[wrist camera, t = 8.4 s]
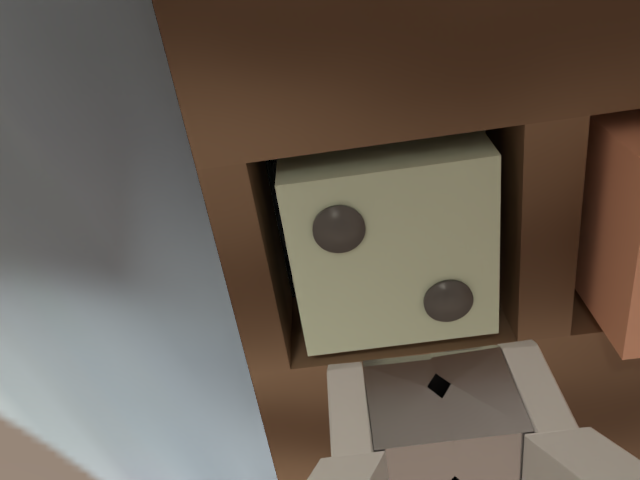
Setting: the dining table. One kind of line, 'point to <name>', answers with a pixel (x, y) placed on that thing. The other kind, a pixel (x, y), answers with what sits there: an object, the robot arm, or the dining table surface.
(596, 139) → the key three
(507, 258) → the key panel
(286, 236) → the key two
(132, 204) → the dining table surface
